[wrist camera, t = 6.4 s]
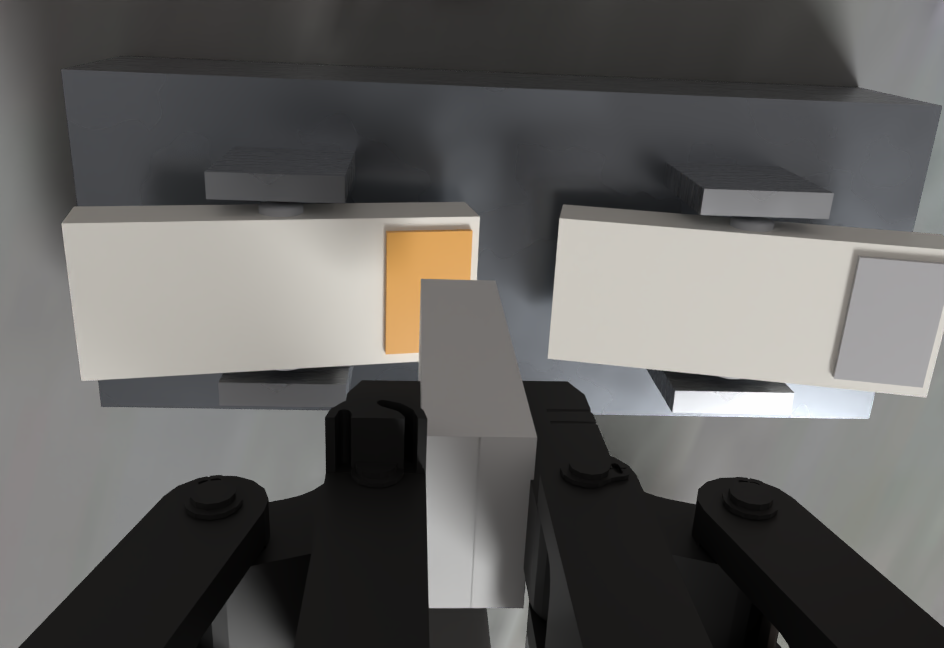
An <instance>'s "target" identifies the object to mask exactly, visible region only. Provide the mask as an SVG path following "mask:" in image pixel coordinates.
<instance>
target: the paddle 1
mask: <svg viewBox="0 0 944 648" xmlns="http://www.w3.org/2000/svg"><path fill="white" fill-rule="evenodd" d="M61 224H62V232H63V240H64V248H65V256H66V264H67V271H68V279H69V287H70V295H71V303H72V311H73V319H74V326H75V334H76V342H77V350H78V358H79V366H80V374H81V381H91V380H108V379H126V378H143V377H160V376H177V375H195V374H212V373H229V372H247V371H264V370H280V371H289V370H295V369H299V368H316V367H333V366H350V365H367V364H385V363H402V362H419V330H420V291H421V279H450V280H477V266H478V246H479V226H480V216H479V215H478V214H477V213H476V212H475V211H474V210H473V209H472V208H471V207H470V206H469V205H468V204H466V203H465V202H407V203H345V204H341V203H325V204H302V203H300V202H279V201H266V202H262V203H260V204H242V205H160V206H78V207H73V208H72V210H71V211H70V212H69V214H68V215H67V216H66V218H65V219H64V221H63V222H62V223H61Z"/></svg>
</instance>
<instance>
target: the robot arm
mask: <svg viewBox="0 0 944 648" xmlns="http://www.w3.org/2000/svg"><path fill="white" fill-rule="evenodd" d="M325 437H326V476H325V482H324V484H322V485H321V486H319V487H318V488H316V489H315V490H313V491H310V492H308V493H305V494H303V495H301V496H297V497H293V498H289V499H284V500H278V501H273V502H269V501H268V497H267V494H266V492H265V489H264V488H263V487H261V486H260V485H258V484H257V483H256V482H254V481H252V480H248V479H245V478H241V477H237V476H222V475H215V476H210V477H202V478H198V479H195V480H192V481H190V482H187V483H185V484H182V485H179V486H177V487H176V488H175V489H173V490H172V491H170V492H169V493H168V494H166V495H165V496H164V497H163V498H162V499H161V500H160V501H159V502H158V503H157V504H156V505H155V506H154V507H153V508H152V509H151V510H150V511H149V512H148V513H147V514H146V515H145V516H144V517H143V519H142V520H141V521H140V522H139V523H138V524H137V525H136V526H135V527H134V528H133V529H132V530H131V531H130V532H129V533H128V534H127V535H126V536H125V537H124V538H123V539H122V540H121V541H120V542H119V543H118V545H117V546H116V547H115V548H114V549H113V550H112V551H111V552H110V553H109V554H108V555H107V556H106V557H105V558H104V559H103V560H102V561H101V562H100V563H99V564H98V565H97V566H96V567H95V568H94V570H93V571H92V572H91V573H90V574H89V575H88V576H87V577H86V578H85V579H84V580H83V581H82V582H81V583H80V584H79V585H78V586H77V587H76V588H75V589H74V590H73V591H72V592H71V593H70V595H69V596H68V597H67V598H66V599H65V600H64V601H63V602H62V603H61V604H60V605H59V606H58V607H57V608H56V609H55V610H54V611H53V612H52V613H51V614H50V615H49V616H48V617H47V618H46V619H45V621H44V622H43V623H42V624H41V625H40V626H39V627H38V628H37V629H36V630H35V631H34V632H33V633H32V634H31V635H30V636H29V637H28V638H27V639H26V640H25V641H24V642H23V643H22V644H21V646H20V647H19V648H430V643H429V608H523V606H524V593H525V581H526V585H527V590H528V596H529V610H528V622H527V634H526V645H525V648H781V647H780V646H779V644H778V643H777V638H778V633H779V632H780V633H781V635H782V636H783V638H784V639H785V640H786V642H787V643H788V645H789V648H944V627H943V626H941V625H940V624H939V623H938V622H937V621H936V620H934V619H933V618H932V617H931V616H930V615H929V614H928V613H926V612H925V611H924V610H923V609H922V608H921V607H919V606H918V605H917V604H916V603H915V602H914V601H912V600H911V599H910V598H909V597H908V596H907V595H905V594H904V593H903V592H902V591H901V590H900V589H898V588H897V587H896V586H895V585H894V584H893V583H891V582H890V581H889V580H888V579H887V578H886V577H884V576H883V575H882V574H881V573H880V572H879V571H877V570H876V569H875V568H874V567H873V566H872V565H870V564H869V563H868V562H867V561H866V560H865V559H863V558H862V557H861V556H860V555H859V554H858V553H856V552H855V551H854V550H853V549H852V548H851V547H849V546H848V545H847V544H846V543H845V542H844V541H842V540H841V539H840V538H839V537H838V536H837V535H835V534H834V533H833V532H832V531H831V530H830V529H828V528H827V527H826V526H825V525H824V524H823V523H821V522H820V521H819V520H818V519H817V518H816V517H814V516H813V515H812V514H811V513H810V512H809V511H807V510H806V509H805V508H804V507H803V506H802V505H800V504H799V503H798V502H797V501H796V500H795V499H793V498H792V497H791V496H789V495H787V494H786V493H784V492H783V491H781V490H780V489H778V488H776V487H773V486H770V485H768V484H765V483H763V482H762V481H759V480H755V479H751V478H750V479H748V478H743V477H736V478H719V479H715V480H712V481H708V482H706V483H705V484H704V485H703V486H702V487H701V488H699V489H698V496H697V502H696V504H690V503H685V502H680V501H675V500H670V499H665V498H661V497H657V496H654V495H651V494H648V493H646V492H644V491H643V489H642V487H641V485H640V482H639V480H638V478H637V476H636V474H635V473H634V472H633V471H632V469H631V468H630V467H629V466H628V465H626V464H625V463H623V462H621V461H620V460H618V459H616V458H614V457H611V456H610V455H609V452H608V450H607V447H606V445H605V443H604V440H603V438H602V435H601V433H600V430H599V428H598V426H597V425H596V421H595V418H594V416H593V413H592V412H591V409H590V406H589V404H588V401H587V399H586V397H585V394H583V393H582V392H581V391H579V390H578V389H577V388H575V387H574V386H573V385H571V384H570V383H569V382H568V381H522V379H521V375H520V371H519V367H518V364H517V360H516V356H515V352H514V349H513V345H512V341H511V337H510V334H509V330H508V326H507V322H506V319H505V315H504V311H503V307H502V304H501V300H500V296H499V293H498V289H497V285H496V281H490V280H450V279H421V291H420V330H419V369H418V381H387V380H361V381H360V382H359V383H358V384H357V385H356V386H355V387H354V388H352V389H351V390H350V391H349V392H348V393H347V397H346V401H343V402H342V403H340V404H338V405H336V406H335V407H333V408H331V409H330V411H329V412H328V414H327V415H326V417H325Z"/></svg>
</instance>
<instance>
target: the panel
mask: <svg viewBox="0 0 944 648" xmlns="http://www.w3.org/2000/svg"><path fill="white" fill-rule="evenodd" d="M61 74H62V82H63V91H64V99H65V107H66V116H67V124H68V132H69V141H70V149H71V157H72V166H73V174H74V182H75V191H76V199H77V207H78V206H160V205H242V204H260V203H262V202H266V201H279V202H300V203H302V204H325V203H341V204H345V203H407V202H465V203H466V204H468V205H469V206H470V207H471V208H472V209H473V210H474V211H475V212H476V213H477V214H478V215H479V216H480V226H479V246H478V266H477V280H490V281H496V285H497V289H498V293H499V296H500V300H501V304H502V307H503V311H504V315H505V319H506V322H507V326H508V330H509V334H510V337H511V341H512V345H513V349H514V352H515V356H516V360H517V364H518V367H519V371H520V375H521V379H522V381H568V382H569V383H570V384H571V385H573V386H574V387H575V388H577V389H578V390H579V391H581V392H582V393H583V394H585V397H586V399H587V401H588V404H589V406H590V409H591V412H592V413H593V414H595V415H657V416H720V417H783V418H845V419H869V417H870V412H871V408H872V404H873V400H874V395H875V392H868V391H859V390H849V389H839V388H829V387H820V386H810V385H800V384H790V383H780V382H771V381H761V380H751V379H726V378H722V377H718V376H712V375H702V374H692V373H683V372H673V371H663V370H653V369H644V368H634V367H624V366H614V365H605V364H595V363H585V362H575V361H565V360H556V359H548V349H549V337H550V325H551V313H552V301H553V289H554V277H555V265H556V253H557V241H558V229H559V218H560V214H561V210H562V206H563V204H565V205H578V206H590V207H603V208H615V209H628V210H641V211H653V212H666V213H678V214H691V215H704V216H716V217H729V218H731V217H732V216H748V217H764V218H767V219H770V220H772V221H779V222H792V223H804V224H817V225H830V226H842V227H855V228H867V229H880V230H893V231H905V232H913V229H914V225H915V220H916V216H917V212H918V208H919V203H920V199H921V195H922V191H923V186H924V182H925V178H926V173H927V169H928V165H929V161H930V156H931V152H932V148H933V144H934V139H935V135H936V131H937V127H938V122H939V118H940V114H941V110H942V106H941V105H936V104H932V103H927V102H923V101H918V100H914V99H909V98H904V97H900V96H895V95H891V94H886V93H882V92H877V91H873V90H868V89H864V88H858V87H835V86H811V85H788V84H764V83H741V82H718V81H694V80H671V79H647V78H624V77H601V76H577V75H554V74H530V73H507V72H483V71H460V70H437V69H413V68H390V67H366V66H343V65H320V64H296V63H273V62H249V61H226V60H203V59H179V58H156V57H132V56H119V57H115V58H110V59H106V60H101V61H97V62H92V63H87V64H83V65H78V66H74V67H69V68H65V69H61ZM418 369H419V362H402V363H385V364H367V365H350V366H333V367H316V368H299V369H295V370H289V371H280V370H264V371H247V372H229V373H212V374H195V375H177V376H160V377H143V378H126V379H108V380H98V383H99V391H100V400H101V407H155V408H218V409H281V410H330V409H331V408H333V407H335V406H336V405H338V404H340V403H342V402H343V401H346V397H347V393H348V392H349V391H350V390H351V389H352V388H354V387H355V386H356V385H357V384H358V383H359V382H360V381H361V380H387V381H418Z"/></svg>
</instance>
